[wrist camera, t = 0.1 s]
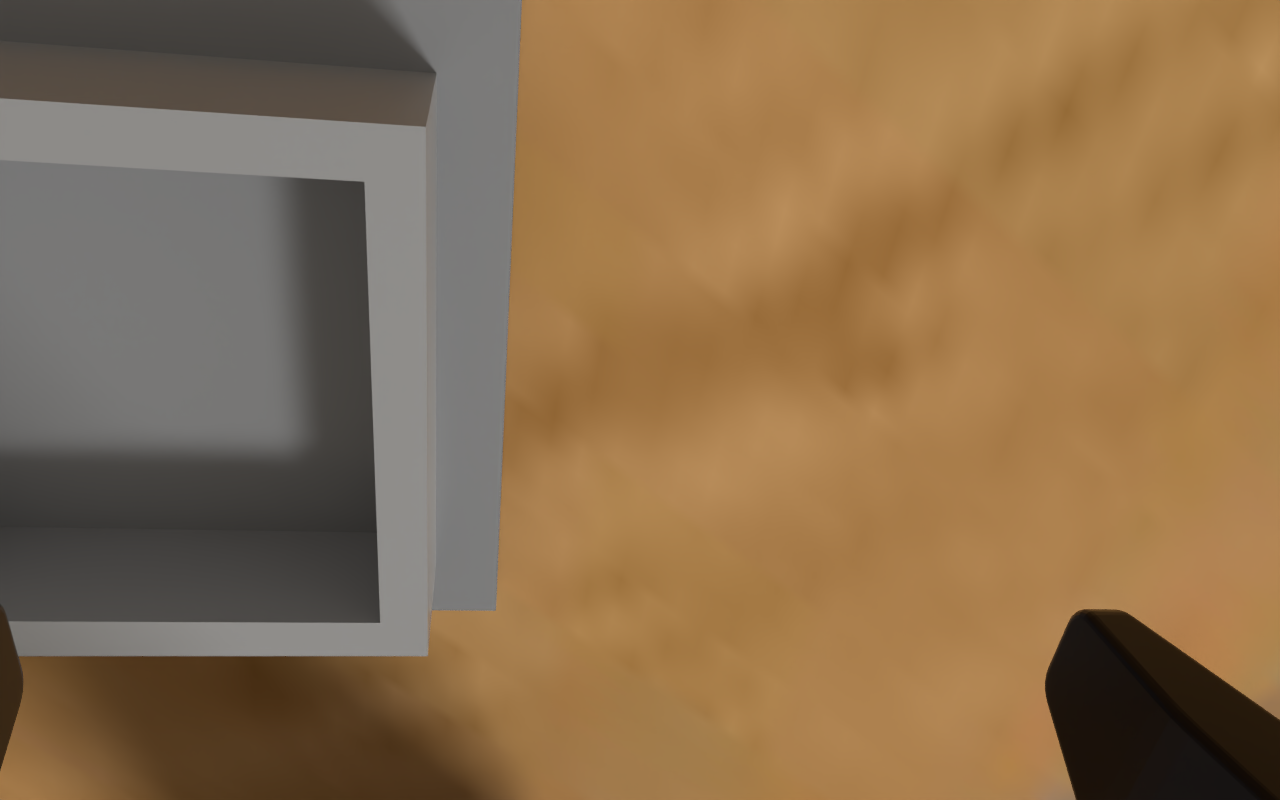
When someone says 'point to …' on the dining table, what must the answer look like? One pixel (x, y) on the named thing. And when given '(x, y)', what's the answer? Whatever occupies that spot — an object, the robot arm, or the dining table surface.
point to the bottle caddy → (252, 321)
